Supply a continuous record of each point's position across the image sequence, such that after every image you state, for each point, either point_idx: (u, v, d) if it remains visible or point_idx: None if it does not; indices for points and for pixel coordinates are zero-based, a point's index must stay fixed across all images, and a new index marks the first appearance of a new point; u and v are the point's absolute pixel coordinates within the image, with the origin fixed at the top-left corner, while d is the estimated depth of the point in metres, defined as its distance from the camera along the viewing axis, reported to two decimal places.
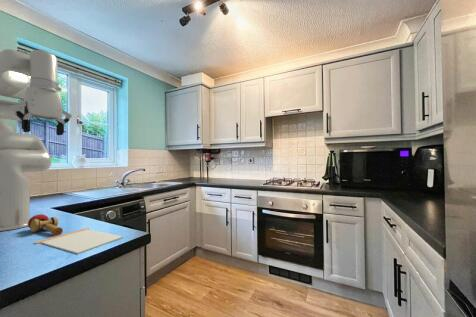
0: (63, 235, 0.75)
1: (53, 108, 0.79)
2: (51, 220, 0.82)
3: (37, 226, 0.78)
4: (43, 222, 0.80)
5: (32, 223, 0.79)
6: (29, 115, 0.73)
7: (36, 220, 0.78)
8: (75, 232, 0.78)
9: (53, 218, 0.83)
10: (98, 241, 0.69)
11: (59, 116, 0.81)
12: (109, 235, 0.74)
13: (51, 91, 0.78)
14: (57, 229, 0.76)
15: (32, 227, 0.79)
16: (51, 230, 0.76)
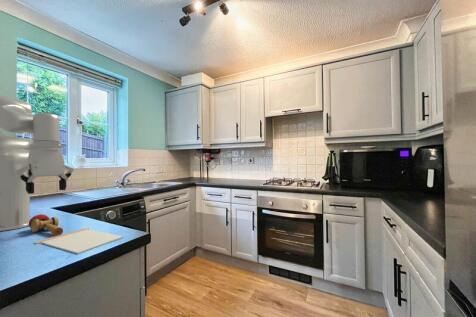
0: (63, 235, 0.75)
1: (56, 166, 0.81)
2: (52, 220, 0.82)
3: (38, 226, 0.78)
4: (44, 222, 0.80)
5: (33, 223, 0.79)
6: (33, 177, 0.76)
7: (37, 220, 0.78)
8: (75, 232, 0.78)
9: (54, 218, 0.83)
10: (98, 241, 0.69)
11: (62, 173, 0.83)
12: (109, 235, 0.74)
13: (54, 150, 0.81)
14: (57, 229, 0.76)
15: (33, 227, 0.79)
16: (51, 230, 0.76)
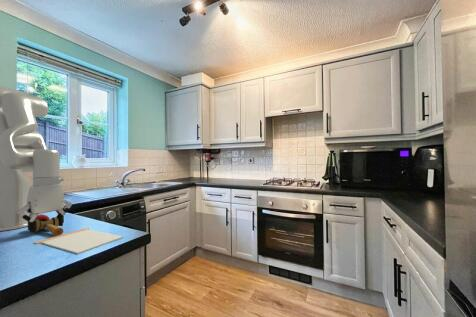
0: (63, 235, 0.75)
1: (55, 202, 0.81)
2: (52, 220, 0.82)
3: (38, 226, 0.78)
4: (44, 222, 0.80)
5: None
6: (34, 216, 0.76)
7: (37, 220, 0.78)
8: (75, 232, 0.78)
9: (54, 218, 0.83)
10: (98, 241, 0.69)
11: (61, 207, 0.83)
12: (109, 235, 0.74)
13: (53, 186, 0.81)
14: (57, 229, 0.76)
15: None
16: (52, 230, 0.76)
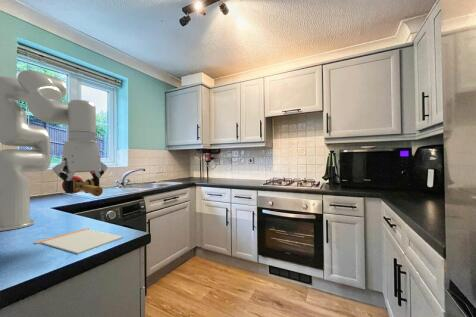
0: (63, 235, 0.75)
1: (92, 161, 0.72)
2: (87, 182, 0.73)
3: (73, 186, 0.68)
4: (79, 183, 0.71)
5: None
6: (71, 174, 0.67)
7: (72, 180, 0.69)
8: (75, 232, 0.78)
9: (89, 180, 0.73)
10: (98, 241, 0.69)
11: (98, 168, 0.74)
12: (109, 235, 0.74)
13: (90, 143, 0.71)
14: (97, 188, 0.66)
15: None
16: (90, 189, 0.66)
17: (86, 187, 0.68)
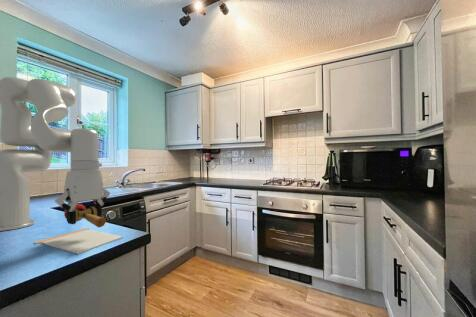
0: (63, 235, 0.75)
1: (95, 189, 0.71)
2: (90, 210, 0.72)
3: (76, 216, 0.68)
4: (82, 212, 0.70)
5: None
6: (74, 205, 0.66)
7: (75, 209, 0.68)
8: (75, 232, 0.78)
9: (92, 208, 0.73)
10: (98, 241, 0.69)
11: (100, 196, 0.73)
12: (109, 235, 0.74)
13: (93, 171, 0.71)
14: (100, 219, 0.66)
15: None
16: (93, 221, 0.66)
17: (89, 217, 0.67)
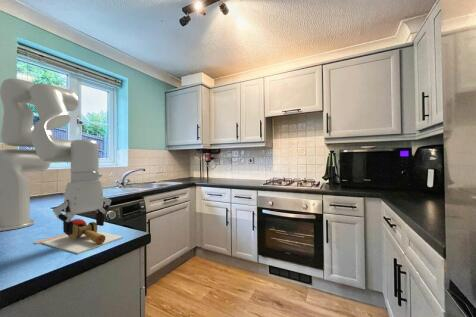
0: (63, 235, 0.75)
1: (95, 200, 0.71)
2: (90, 226, 0.72)
3: (76, 233, 0.68)
4: (82, 228, 0.70)
5: None
6: (71, 216, 0.66)
7: (75, 226, 0.69)
8: None
9: (92, 223, 0.73)
10: None
11: (100, 207, 0.73)
12: (109, 235, 0.74)
13: (93, 182, 0.71)
14: (99, 236, 0.66)
15: None
16: (93, 238, 0.66)
17: (89, 234, 0.67)
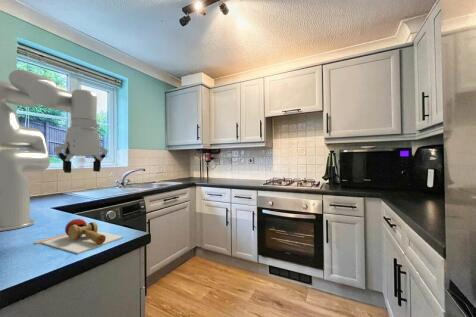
0: (63, 235, 0.75)
1: (92, 146, 0.79)
2: (90, 226, 0.72)
3: (76, 233, 0.68)
4: (82, 228, 0.70)
5: (70, 229, 0.69)
6: (70, 156, 0.73)
7: (75, 226, 0.68)
8: None
9: (92, 223, 0.73)
10: None
11: (97, 153, 0.81)
12: (109, 235, 0.74)
13: (91, 130, 0.78)
14: (99, 236, 0.66)
15: (70, 234, 0.69)
16: (93, 238, 0.66)
17: (89, 234, 0.67)
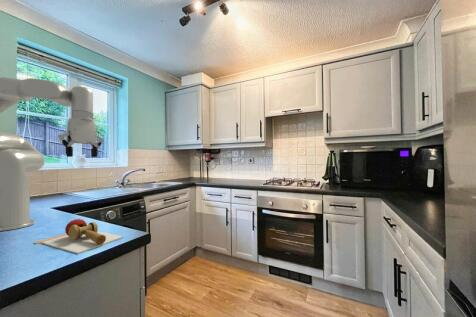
0: (63, 235, 0.75)
1: (90, 135, 0.92)
2: (90, 226, 0.72)
3: (77, 233, 0.68)
4: (82, 228, 0.70)
5: (70, 229, 0.69)
6: (72, 142, 0.87)
7: (75, 226, 0.68)
8: None
9: (92, 223, 0.73)
10: None
11: (94, 141, 0.94)
12: (109, 235, 0.74)
13: (88, 120, 0.91)
14: (100, 236, 0.66)
15: (71, 234, 0.69)
16: (93, 238, 0.66)
17: (89, 234, 0.67)
